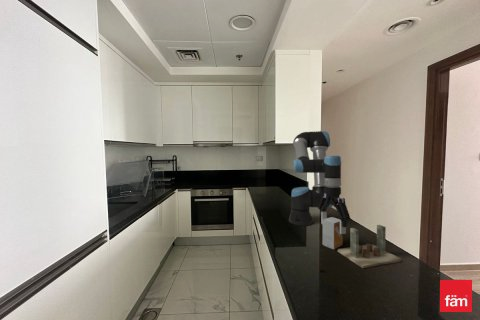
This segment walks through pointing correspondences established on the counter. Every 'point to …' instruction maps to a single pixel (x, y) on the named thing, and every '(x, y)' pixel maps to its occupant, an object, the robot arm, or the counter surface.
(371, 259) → the peg stand
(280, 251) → the counter surface
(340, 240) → the small box
